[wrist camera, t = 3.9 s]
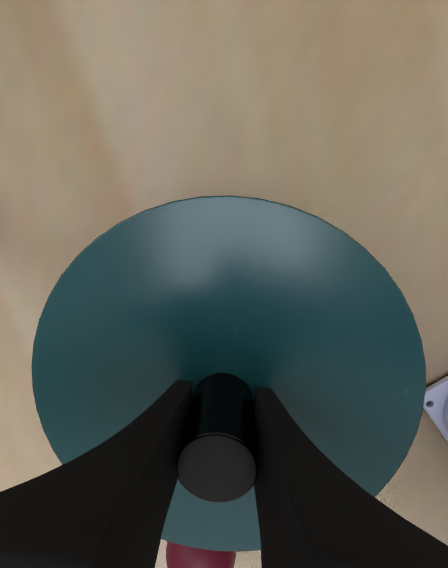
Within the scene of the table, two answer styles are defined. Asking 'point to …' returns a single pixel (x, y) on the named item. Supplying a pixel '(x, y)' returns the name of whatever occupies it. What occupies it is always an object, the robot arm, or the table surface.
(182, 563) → the beet
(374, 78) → the table surface
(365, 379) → the pot lid
